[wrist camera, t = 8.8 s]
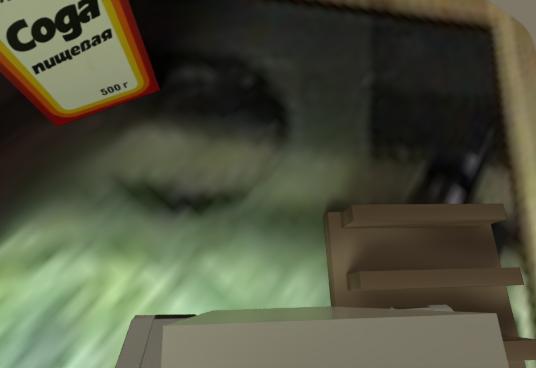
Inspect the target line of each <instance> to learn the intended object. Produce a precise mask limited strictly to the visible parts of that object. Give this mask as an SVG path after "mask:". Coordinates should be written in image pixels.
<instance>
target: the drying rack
mask: <svg viewBox="0 0 536 368" xmlns="http://www.w3.org/2000/svg"><path fill="white" fill-rule="evenodd" d="M323 217H324V229H325V241H326V253H327V264H328V276H329V288H330V300H331V307H355V308H380V309H390V308H391V307H401V306H422V305H425V306H428V305H448V306H449V307H450V308H451V309H452V310H453V311H454V312H477V313H496V314H497V318H498V322H499V327H500V331H501V335H502V340H503V344H504V348H505V352H506V357H507V361H508V365H509V368H526V366H525V362H524V360H536V339H529V338H521V337H518V334H517V330H516V326H515V321H514V317H513V313H512V309H511V305H510V301H509V297H508V293H507V289H506V286H510V285H524V282H523V278H522V275H521V271H520V267H518V268H501V264H500V260H499V256H498V252H497V248H496V244H495V240H494V236H493V231H492V227H491V224H492V223H495V222H498V221H502V220H505V219H507V217H506V213H505V210H504V206H503V204H360V205H351V206H349V207H348V208H347V209H346V210H345V211H343V212H327V213H326V214H325V215H324V216H323Z"/></svg>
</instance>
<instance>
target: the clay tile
mask: <svg viewBox="0 0 536 368" xmlns="http://www.w3.org/2000/svg"><path fill="white" fill-rule="evenodd" d="M161 368H509V365H508V361H507V357H506V352H505V348H504V344H503V340H502V335H501V331H500V327H499V322H498V318H497V314H496V313H477V312H453V311H429V310H404V309H380V308H355V307H331V306H329V307H301V308H272V309H243V310H214V311H209V312H206V313H203V314H200V315H197V316H194V317H190V318H187V319H184V320H181V321H178V322H175V323H171V324H168V325H165V326H163V341H162V356H161Z"/></svg>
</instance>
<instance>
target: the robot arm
mask: <svg viewBox="0 0 536 368" xmlns="http://www.w3.org/2000/svg"><path fill="white" fill-rule="evenodd" d="M390 309H404V310H429V311H453V310H452V309H451V308H450V307H449V306H448V305H428V306H425V305H422V306H401V307H391V308H390ZM453 312H454V311H453ZM194 316H197V315H196V314H187V315H135V317H134V318H133V319H132V321H131V324H130V326H129V329H128V332H127V335H126V338H125V341H124V344H123V346H122V349H121V352H120V355H119V358H118V361H117V364H116V367H115V368H161V356H162V341H163V326H165V325H168V324H171V323H175V322H178V321H181V320H184V319H187V318H190V317H194Z"/></svg>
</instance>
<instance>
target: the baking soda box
mask: <svg viewBox="0 0 536 368" xmlns="http://www.w3.org/2000/svg"><path fill="white" fill-rule="evenodd" d="M0 72H1V73H2V74H3V75H4V76H5V77H6V78H7V79H8V80H9V81H10V82H11V83H12V84H13V85H14V86H15V87H16V88H17V89H18V90H19V91H20V92H21V93H22V94H23V95H24V96H25V97H26V98H27V99H28V100H29V101H30V102H31V103H33V104H34V105H35V106H36V107H37V108H38V109H39V110H40V111H41V112H42V113H43V114H44V115H45V116H46V117H47V118H48V119H49V120H50V121H51V122H52V123H53V124H54V125H55V126H56V127H57V126H60V125H63V124H66V123H68V122H71V121H74V120H77V119H80V118H83V117H85V116H88V115H91V114H94V113H97V112H99V111H102V110H105V109H108V108H111V107H114V106H116V105H119V104H122V103H125V102H128V101H130V100H133V99H136V98H139V97H142V96H144V95H147V94H150V93H153V92H156V91H159V90H160V88H159V85H158V83H157V80H156V77H155V74H154V71H153V69H152V66H151V63H150V60H149V57H148V55H147V52H146V49H145V46H144V43H143V40H142V38H141V35H140V32H139V29H138V26H137V24H136V21H135V18H134V15H133V12H132V10H131V7H130V4H129V1H128V0H0Z"/></svg>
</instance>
